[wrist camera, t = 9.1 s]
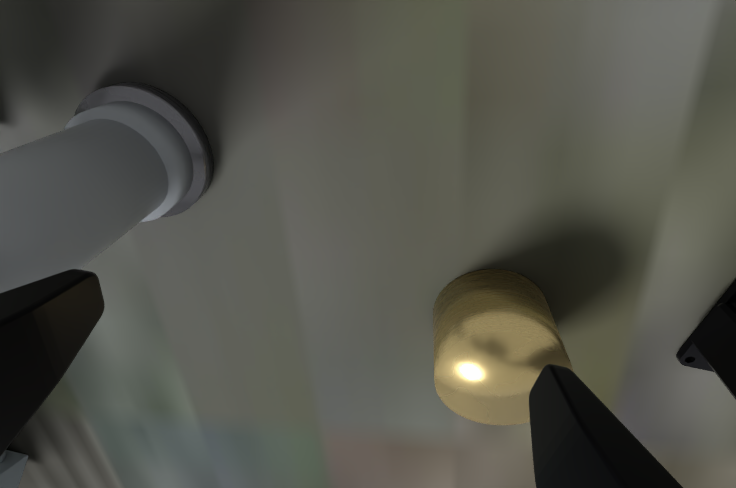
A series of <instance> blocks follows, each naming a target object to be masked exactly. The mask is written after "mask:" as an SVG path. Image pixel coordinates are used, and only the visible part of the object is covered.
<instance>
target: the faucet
mask: <svg viewBox="0 0 736 488" xmlns="http://www.w3.org/2000/svg"><path fill="white" fill-rule="evenodd" d="M27 459H28V455H26V454H21V453H17V452H13V451H8V450H5V451H4V453H3V454H2V455H1V456H0V488H18V486H19V483H20V480H21V477H22V474H23V471H24V468H25V465H26V462H27Z"/></svg>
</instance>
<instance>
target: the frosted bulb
mask: <svg viewBox="0 0 736 488" xmlns="http://www.w3.org/2000/svg"><path fill="white" fill-rule="evenodd" d="M193 174H194V173H193V162H192V158H191V155H190V152H189V149H188V147H187V145H186V143H185V141H184V140H183V138H182V137H181V135H180V134H179V132H178V131H177V130H176V129H175V128H174V126H173V125H172V124H171V123H170V122H169V121H168V120H166V119H165V118H164V117H163V116H161V115H160V114H159V113H157V112H155V111H154V110H152V109H150V108H148V107H146V106H144V105H141V104H138V103H134V102H129V101H115V102H110V103H107V104H104V105H101V106H98V107H95V108H92V109H89V110H86V111H84V112H81V113H79V114H77V115H76V116H74V117H73V118H72V119H71V120H70V121H69V122H68V123H67V125H66V126H65V128H64V130H63V131H60V132H57V133H54V134H52V135H49V136H46V137H44V138H41V139H38V140H36V141H33V142H30V143H28V144H25V145H22V146H20V147H17V148H14V149H11V150H9V151H6V152H3V153H1V154H0V293H2V292H5V291H8V290H11V289H14V288H17V287H20V286H23V285H26V284H29V283H32V282H35V281H37V280H40V279H43V278H46V277H49V276H52V275H55V274H58V273H61V272H64V271H67V270H70V269H81V268H82V267H84V266H85V265H86V264H87V263H89V262H90V261H91V260H92V259H94V258H95V257H96V256H97V255H99V254H100V253H101V252H102V251H104V250H105V249H106V248H108V247H109V246H110V245H111V244H113V243H114V242H115V241H116V240H118V239H119V238H120V237H121V236H123V235H124V234H125V233H127V232H128V231H129V230H130V229H132V228H133V227H134V226H135V225H137V224H138V223H139V222H144V221H150V220H154V219H157V218H159V217H161V216H162V215H163V214H165V213H166V212H167V211H169V210H170V209H171V208H172V207H173V206H175V205H176V204H177V203H178V202H179V201H181V200H182V199H183V198H184V197H185V196H186V194H187V193H188V191H189V190H190V187H191V185H192V181H193Z"/></svg>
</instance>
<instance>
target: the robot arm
mask: <svg viewBox="0 0 736 488" xmlns="http://www.w3.org/2000/svg"><path fill="white" fill-rule="evenodd" d="M103 311H104V300H103V296H102V291H101V287H100V283H99V279H98V277H97V275H96V274H95V273H93V272H90V271H85V270H80V269H70V270H67V271H64V272H61V273H58V274H55V275H52V276H49V277H46V278H43V279H40V280H37V281H35V282H32V283H29V284H26V285H23V286H20V287H17V288H14V289H11V290H8V291H5V292H2V293H0V456H1V455H2V454H3V453H4V451H5V450H6V449H7V448H8V446H9V445H10V444H11V442H12V441H13V440H14V439H15V437H16V436H17V435H18V434H19V432H20V431H21V430H22V429H23V427H24V426H25V425H26V423H27V422H28V421H29V420H30V418H31V417H32V416H33V415H34V413H35V412H36V411H37V409H38V408H39V407H40V406H41V404H42V403H43V402H44V401H45V399H46V398H47V397H48V396H49V394H50V393H51V392H52V390H53V389H54V388H55V386H56V385H57V384H58V382H59V381H60V379H61V378H62V376H63V375H64V373H65V372H66V371H67V369H68V367H69V366H70V364H71V363H72V361H73V360H74V358H75V356H76V355H77V353H78V352H79V350H80V349H81V347H82V346H83V344H84V342H85V341H86V339H87V338H88V336H89V335H90V333H91V331H92V330H93V328H94V327H95V325H96V324H97V322H98V321H99V319H100V317H101V316H102V313H103ZM676 357H677V359H678V360H679V362H680V363H681V364H682V365H684V366H688V367H693V368H698V369H703V370H708V371H713V372H715V373H716V374H717V376H718V377H719V378H720V380H721V381H722V382H723V383H724V385H725V386H726V387H727V389H728V390H729V391H730V393H731V394H732V395H733V397H734V398H735V399H736V280H735V281H734V283H733V284H732V285H731V286H730V288H729V289H728V290H727V291H726V293H725V294H724V295H723V296H722V298H721V299H720V300H719V301H718V303H717V304H716V305H715V306H714V308H713V309H712V310H711V311H710V313H709V314H708V315H707V316H706V318H705V319H704V320H703V321H702V323H701V324H700V325H699V326H698V328H697V329H696V330H695V331H694V333H693V334H692V335H691V336H690V337H689V339H688V340H687V341H686V342H685V344H684V345H683V346H682V347H681V349H680V350H679V351H678V352H677V354H676ZM529 413H530V425H531V438H532V451H533V463H534V473H535V482H536V488H683V487H682V486H681V485H680V484H679V483H678V482H677V481H676V480H675V479H674V478H673V477H672V476H671V474H670V473H669V472H668V471H667V470H666V469H665V468H664V467H663V466H662V465H661V464H660V463H659V462H658V461H657V460H656V459H655V458H654V457H653V456H652V454H651V453H650V452H649V451H648V450H647V449H646V448H645V447H644V446H643V445H642V444H641V443H640V442H639V441H638V440H637V439H636V438H635V437H634V436H633V434H632V433H631V432H630V431H629V430H628V429H627V428H626V427H625V426H624V425H623V424H622V423H621V422H620V421H619V420H618V419H617V418H616V417H615V416H614V414H613V413H612V412H611V411H610V410H609V409H608V408H607V407H606V406H605V405H604V404H603V403H602V402H601V401H600V400H599V399H598V398H597V397H596V395H595V394H594V393H593V392H592V391H591V390H590V389H589V388H588V387H587V386H586V385H585V384H584V383H583V382H582V381H581V380H580V379H579V378H578V377H577V375H576V374H575V373H574V372H573V371H572V370H570V369H569V368H567V367H563V366H558V365H553V364H547V365H546V366H544V368H543V369H542V371H541V373H540V374H539V376H538V378H537V380H536V381H535V383H534V385H533V387H532V388H531V391H530V394H529Z"/></svg>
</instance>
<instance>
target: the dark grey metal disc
mask: <svg viewBox="0 0 736 488" xmlns="http://www.w3.org/2000/svg"><path fill="white" fill-rule="evenodd" d="M115 101H129V102H134V103H138V104H141V105H144V106H146V107H148V108H150V109H152V110H154V111H155V112H157V113H159V114H160V115H161V116H163V117H164V118H165V119H166V120H168V121H169V122H170V123H171V124H172V125H173V126H174V128H175V129H176V130H177V131H178V132H179V134H180V135H181V137H182V138H183V140H184V141H185V143H186V145H187V147H188V149H189V152H190V155H191V158H192V162H193V173H194V174H193V181H192V185H191V187H190V190H189V191H188V193H187V194H186V196H185V197H184V198H183V199H182V200H181V201H179V202H178V203H177V204H176V205H175V206H173V207H172V208H171V209H170V210H169V211H167V212H166V213H165V214H163V215H162V216H161V217H168V216H173V215H177V214H179V213H182V212H184V211H185V210H187V209H188V208H189V207H191V206H192V205H193V204H194V203H195V202H196V201H197V200H198V199H200V198H201V197H202V196H203V194H204V193H205V192H206V191H207V189H208V187H209V185H210V182H211V179H212V174H213V156H212V151H211V147H210V144H209V141H208V139H207V137H206V135H205V132H204V130H203V129H202V127H201V126H200V124H199V122H198V121H197V120H196V118H195V117H194V116H193V115H192V113H191V112H190V111H189V110H188V109H187V108H186V107H185V106H184V105H182V104H181V103H180V102H179V101H178V100H176V99H175V98H174V97H172V96H171V95H169V94H167V93H166V92H164V91H162V90H160V89H158V88H155V87H153V86H150V85H146V84H142V83H134V82H127V83H119V84H115V85H112V86H108V87H105V88H101V89H99V90H96V91H94V92H92V93H91V94H89V95H88V96H87V97H86V98H84V99H83V100H82V102H81V103H80V104H79V106H78V108H77V110H76V112H75V115H74V116H76V115H77V114H79V113H81V112H84V111H86V110H89V109H92V108H95V107H98V106H101V105H104V104H107V103H110V102H115Z"/></svg>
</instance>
